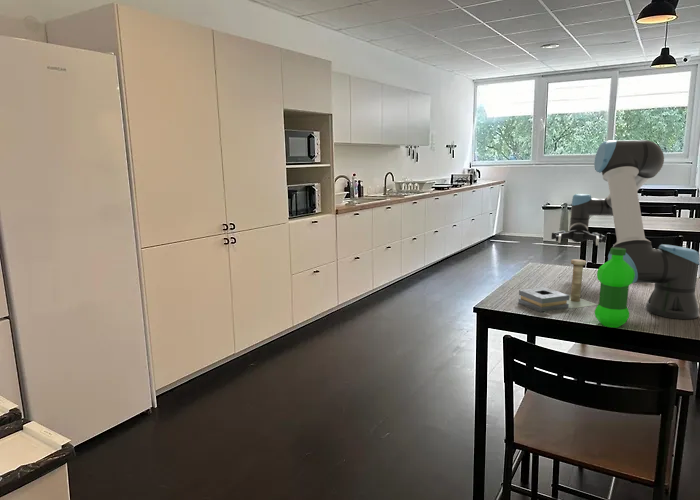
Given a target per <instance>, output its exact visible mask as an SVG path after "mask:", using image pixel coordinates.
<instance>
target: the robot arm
mask: <svg viewBox="0 0 700 500" xmlns="http://www.w3.org/2000/svg"><path fill="white" fill-rule="evenodd" d="M664 154H665V153H664V152H663V150H662V148H661V147H660V145H659V144H657V143H656V142H654V141H652V140H647V139H640V140H639V139H637V140H636V139H634V140H633V139H629V140H625V139H624V140H621V139H620V140H617V139H614V140H605V141H602V143H600V145H599V146H598V148H597V150H596V154H595V157H594V161H593V162H594V163H593V165H594V170H595V172H597V173H599V174H600V173H601V174H602V179H603V180H604V181H605V182H607V183H608V190H609V194H608V195H607V196H606V198H595V197H593V198H592V195H591V194H589V193H575V194H574V195H572V199H571V204H570V205H571V209H570V219H569V227H568V229H569V230H568V231H567V232H566V231H565V230H564V229H563V230H562V229H561V230H559V231H555V232H554V231H553V232H551V239H550V240H555V242H557V243H558V244H561V242H562V241H561V240H565V239H568V240H571V241H572V242H575V243H583V242H584V241H591V242H595V246H599V244H600V243H603V244H605V243H607V235H605V234H604V235H603V234H602V233H598V232H592V233H590V231H589V222H590V217H591V216H602V217H603V216H604V217H605V216H606V217H607V216H608V217H611V216H612V217H613V224H614V230H615V236H616V242H615V243H614V244H613V246H612V248H613V247H617V248H624V249H626V255H623V260H624V261H625V262H626V263H628V264H629V265H630V266H631V267H632V268H633V269H634V272H635V277H634V280H633V282H632V284H654V286H653V287H654V288H653V291H652V292H651V295H650V296H649V298H648V301H647V302H646V305H645V306H646V307H645V310H646V311H648V312H649V313H651V314H653V315H657V316H658V317H659V316H660V317H664V318H670V319H677V320H692V319H697V318H699V312H700V309H699V306H698V301H697V297H696V287H697V281H698V280H697V279H698V274H699V273H698V272H699V266H700V253H699V251H697V250H695V249H692V248H688V247H685V246H678V245H672V244H663V243H661V244H659V246H658V248H657V249H656V248H653V246H652V241H650V240H649V239H647V238H646V235H645V230H644V223H643V218H642V212H641V206H640V200H639V199H640V198H639V194H638V191H639V190H640V189H641V187H642V186H644V185H645V183H646V182H647V181H648V180H649V179H653V178H654V177H655V176H657V174H659V172H660V171H661V170H662V168H663V165H664V162H665V155H664ZM607 258H608V259H607V261H609V260H610V259H612V254H610V251H609V252H608V255H607Z"/></svg>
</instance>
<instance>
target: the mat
mask: <svg viewBox="0 0 700 500" xmlns="http://www.w3.org/2000/svg"><path fill="white" fill-rule="evenodd" d="M568 295H569V300H567V303H568V304H569V307H568V308H571V309H577V308H584V307H591V306H598V305H599V303H596V302H592V301H589V300H586V299H583V298H581V297H580V301H579V302H574V301H571V294H568Z"/></svg>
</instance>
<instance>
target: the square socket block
mask: <svg viewBox="0 0 700 500" xmlns="http://www.w3.org/2000/svg"><path fill="white" fill-rule="evenodd" d="M569 295H570V294H567V293H564V292H561V291H558V290H555V289H553V288H549V287H546V286H543V287H533V288H524V289H519V290H518V296H520V297H518V301H517V302H518V304H519V305H522V306H524V307H527V308H530V309H532V310H534V311H537V312H539V313H545V312H549V311H554V310H556V311H557V310H562V309H569V308H570V307H569V304H568V303H567V300H569Z"/></svg>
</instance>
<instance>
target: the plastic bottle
mask: <svg viewBox="0 0 700 500" xmlns="http://www.w3.org/2000/svg"><path fill="white" fill-rule="evenodd" d="M609 252H610V254H612V259H610V260H609V261H608V260H607V261H606V262H604V263H603V264H602V265H600V266H599V267H598V269H597V272H596V276H597V277H596V278H597V280H598V281H599V282H600V289H599V298H598V305H596V308H595V309H594V316H595V318H596V319H597V321H598V322H599V323H600V324H601V325H602V326H603V327H607V328H616V329H617V328H619V327H621V326H623V325H625V324H626V323H627V322H628V319H629V318H630V312H629V311H630V310H629V308H628V296H629V289H630V286H631V284H633V283H632V282H633V280H634V277H635V272H634V269H633V268H632V267H631V266H630V265H629V264H628V263H626V262H625V261H624V260H623V255H626V249H624V248H617V247H613V246H612V247H611V248H610V251H609Z"/></svg>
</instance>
